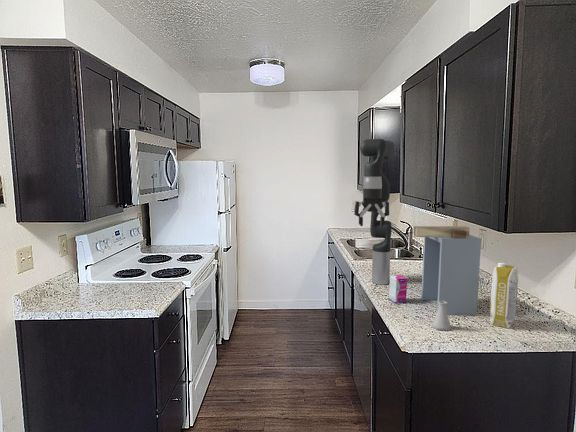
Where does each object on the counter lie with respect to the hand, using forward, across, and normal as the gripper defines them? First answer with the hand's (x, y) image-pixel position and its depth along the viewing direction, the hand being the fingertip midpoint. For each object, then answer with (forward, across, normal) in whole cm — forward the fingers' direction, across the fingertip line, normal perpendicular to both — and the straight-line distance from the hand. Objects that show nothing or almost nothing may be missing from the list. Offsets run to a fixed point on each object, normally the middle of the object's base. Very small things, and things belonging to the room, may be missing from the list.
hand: (371, 225), depth 166 cm
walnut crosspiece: (+4, -34, +2) cm, 35 cm away
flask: (+36, -23, +21) cm, 48 cm away
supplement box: (+36, -15, -10) cm, 40 cm away
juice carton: (+36, -48, +18) cm, 63 cm away
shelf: (+36, -35, -2) cm, 50 cm away
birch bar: (+4, -29, +3) cm, 29 cm away
